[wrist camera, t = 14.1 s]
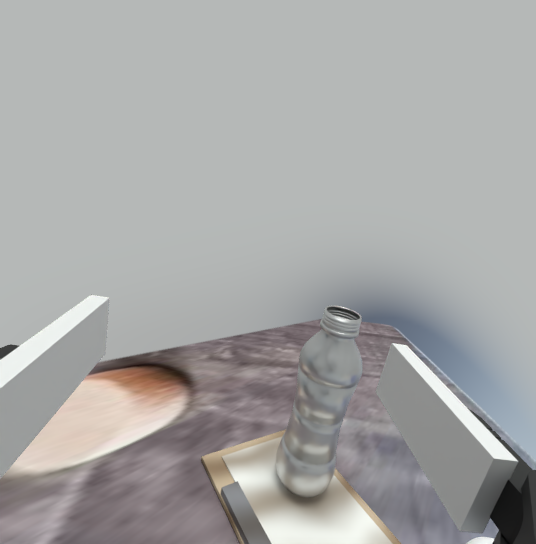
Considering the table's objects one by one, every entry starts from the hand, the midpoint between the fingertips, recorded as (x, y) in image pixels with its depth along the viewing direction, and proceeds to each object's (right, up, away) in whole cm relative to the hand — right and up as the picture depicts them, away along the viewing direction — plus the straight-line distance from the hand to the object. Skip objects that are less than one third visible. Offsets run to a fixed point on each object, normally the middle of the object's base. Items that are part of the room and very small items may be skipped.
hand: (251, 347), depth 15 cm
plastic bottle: (+4, -20, +21) cm, 29 cm away
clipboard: (+4, -21, +18) cm, 28 cm away
